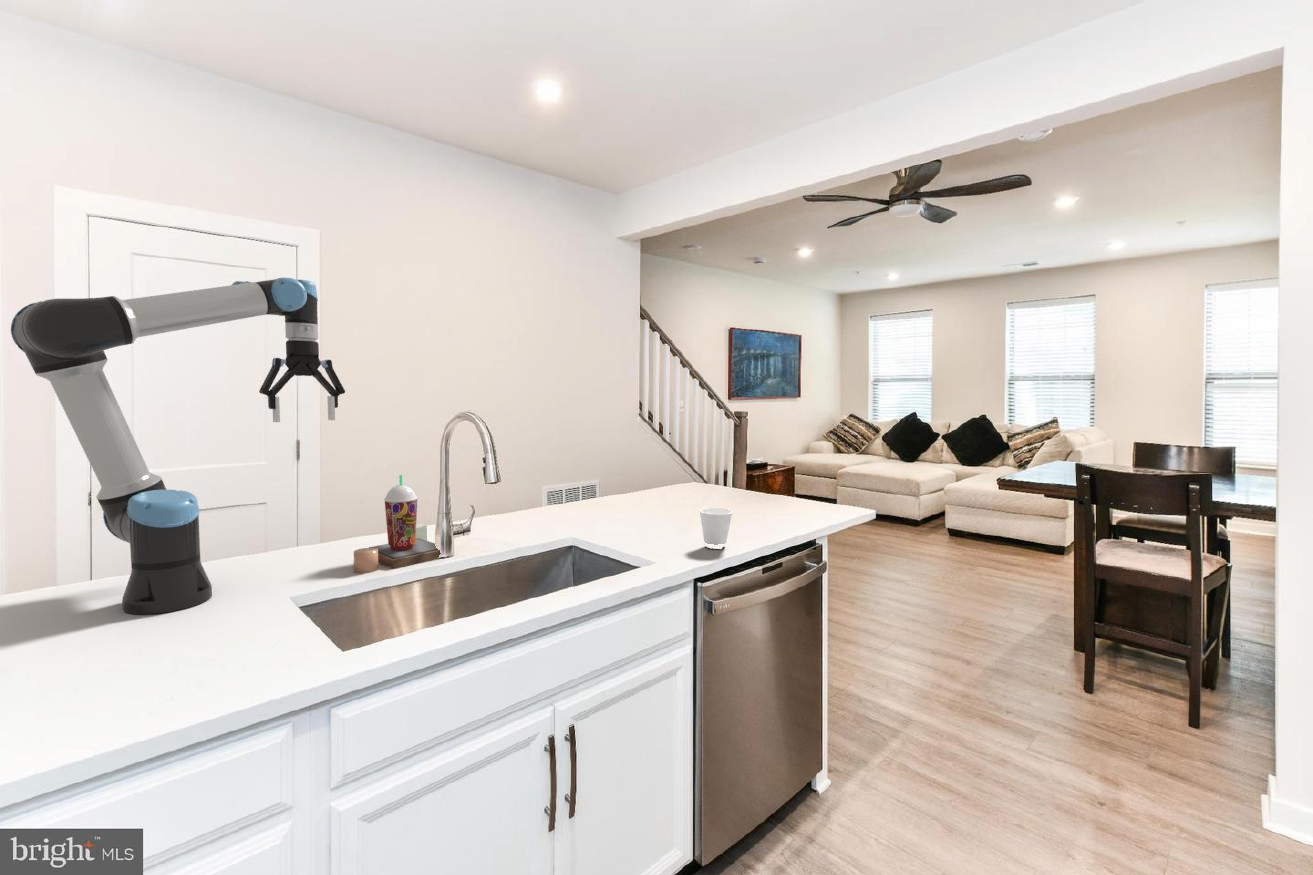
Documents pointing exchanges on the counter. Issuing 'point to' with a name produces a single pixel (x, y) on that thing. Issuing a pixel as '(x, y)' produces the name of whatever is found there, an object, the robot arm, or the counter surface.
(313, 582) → the counter surface
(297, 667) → the counter surface
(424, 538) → the sage box
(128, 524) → the robot arm
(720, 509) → the cup
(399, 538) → the smoothie
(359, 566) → the rounded peach cube
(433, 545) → the podium
